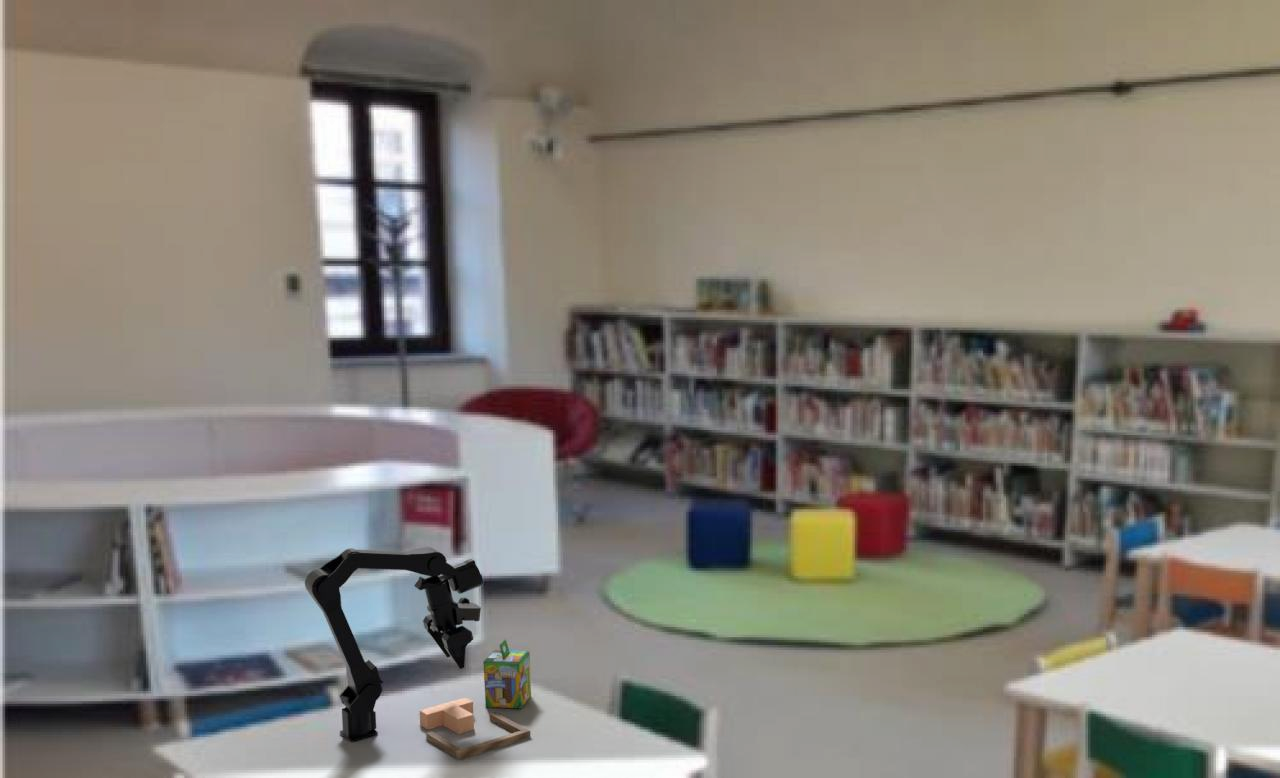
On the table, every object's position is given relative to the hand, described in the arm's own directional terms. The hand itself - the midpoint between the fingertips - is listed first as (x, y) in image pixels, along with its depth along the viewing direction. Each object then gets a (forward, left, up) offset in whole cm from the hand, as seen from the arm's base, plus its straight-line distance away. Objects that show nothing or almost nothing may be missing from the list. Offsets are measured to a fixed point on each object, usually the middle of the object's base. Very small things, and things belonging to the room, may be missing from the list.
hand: (455, 662), depth 264 cm
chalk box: (+13, -2, -12) cm, 18 cm away
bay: (-4, -16, -12) cm, 21 cm away
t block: (-4, -5, -12) cm, 14 cm away
